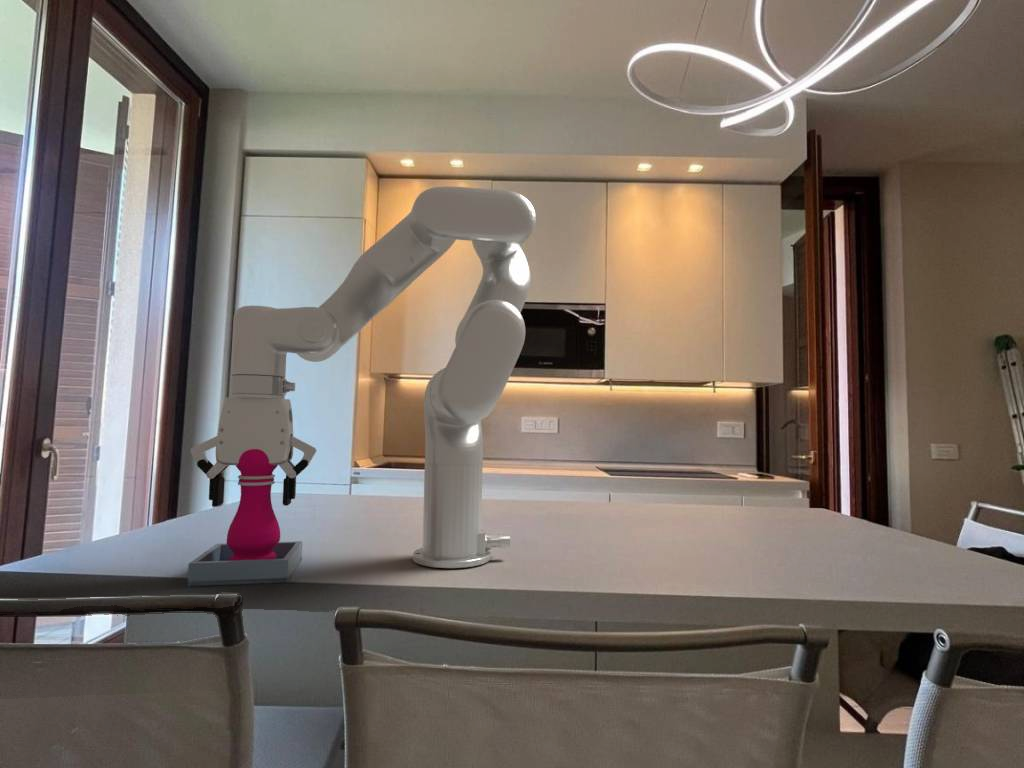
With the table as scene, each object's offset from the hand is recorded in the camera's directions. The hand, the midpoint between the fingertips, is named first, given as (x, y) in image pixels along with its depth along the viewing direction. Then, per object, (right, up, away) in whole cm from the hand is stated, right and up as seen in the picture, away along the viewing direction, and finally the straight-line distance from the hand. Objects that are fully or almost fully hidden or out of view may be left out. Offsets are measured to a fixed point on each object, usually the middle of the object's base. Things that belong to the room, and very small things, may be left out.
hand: (252, 504), depth 84 cm
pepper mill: (0, -9, -1) cm, 9 cm away
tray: (0, -10, -1) cm, 10 cm away
